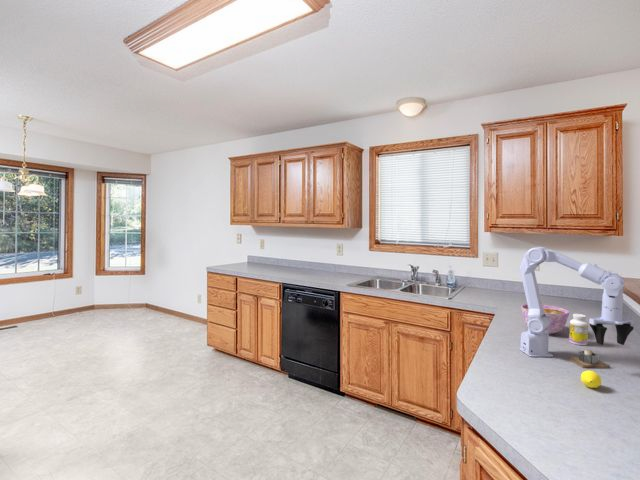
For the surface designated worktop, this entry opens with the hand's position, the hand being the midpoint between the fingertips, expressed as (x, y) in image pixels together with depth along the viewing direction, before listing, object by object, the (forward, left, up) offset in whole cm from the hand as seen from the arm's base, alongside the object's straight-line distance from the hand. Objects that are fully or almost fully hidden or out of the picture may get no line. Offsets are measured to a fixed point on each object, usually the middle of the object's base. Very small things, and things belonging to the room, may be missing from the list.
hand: (610, 343), depth 124 cm
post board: (-3, +6, -10) cm, 12 cm away
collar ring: (-3, +6, -9) cm, 11 cm away
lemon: (-17, -13, -10) cm, 23 cm away
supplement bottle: (+10, +28, -10) cm, 31 cm away
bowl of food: (+5, +44, -10) cm, 45 cm away
